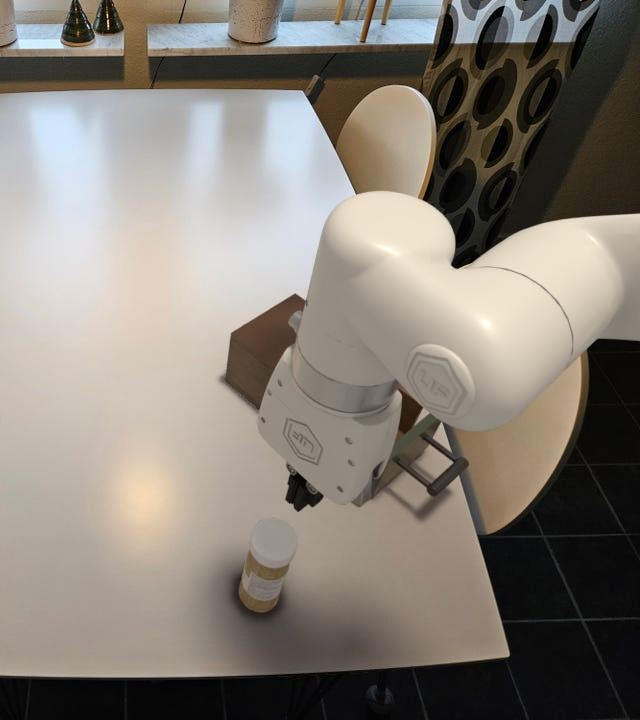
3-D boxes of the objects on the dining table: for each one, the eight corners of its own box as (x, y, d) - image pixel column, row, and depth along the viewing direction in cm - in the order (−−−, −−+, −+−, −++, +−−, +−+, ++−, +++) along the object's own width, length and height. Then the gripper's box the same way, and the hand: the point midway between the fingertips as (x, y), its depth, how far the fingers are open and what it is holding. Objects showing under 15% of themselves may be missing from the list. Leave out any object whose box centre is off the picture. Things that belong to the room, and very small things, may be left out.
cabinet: (361, 397, 91) (378, 351, 84) (300, 444, 86) (313, 399, 78) (285, 340, 99) (295, 292, 91) (224, 379, 93) (230, 332, 86)
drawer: (466, 476, 81) (489, 440, 76) (411, 528, 76) (432, 494, 71) (346, 385, 91) (359, 348, 86) (291, 427, 86) (301, 389, 81)
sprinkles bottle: (246, 567, 74) (261, 508, 64) (284, 585, 73) (305, 527, 63) (231, 602, 71) (243, 547, 61) (270, 621, 70) (289, 567, 60)
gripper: (235, 327, 48) (217, 464, 61) (399, 461, 40) (337, 585, 53) (305, 286, 51) (273, 425, 64) (470, 403, 43) (395, 533, 57)
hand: (303, 497), depth 59 cm, fingers closed
